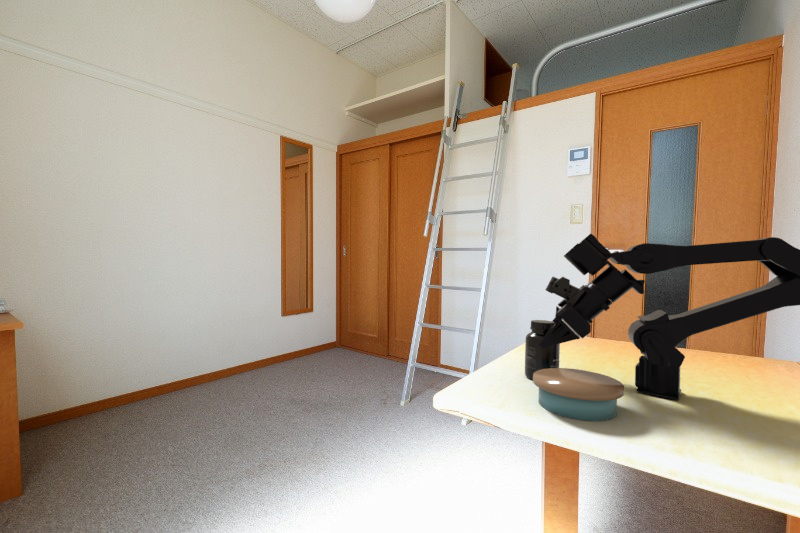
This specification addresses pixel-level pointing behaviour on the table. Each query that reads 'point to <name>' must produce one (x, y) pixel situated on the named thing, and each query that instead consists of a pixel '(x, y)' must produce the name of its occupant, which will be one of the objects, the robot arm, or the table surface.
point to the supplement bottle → (540, 349)
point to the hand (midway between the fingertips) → (541, 341)
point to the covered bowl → (578, 393)
